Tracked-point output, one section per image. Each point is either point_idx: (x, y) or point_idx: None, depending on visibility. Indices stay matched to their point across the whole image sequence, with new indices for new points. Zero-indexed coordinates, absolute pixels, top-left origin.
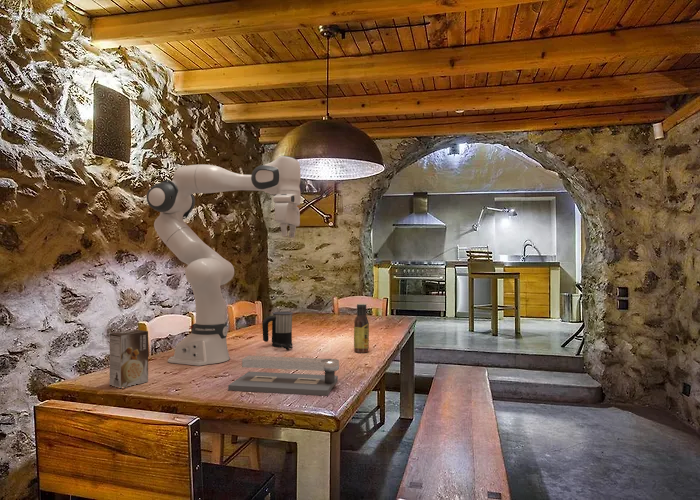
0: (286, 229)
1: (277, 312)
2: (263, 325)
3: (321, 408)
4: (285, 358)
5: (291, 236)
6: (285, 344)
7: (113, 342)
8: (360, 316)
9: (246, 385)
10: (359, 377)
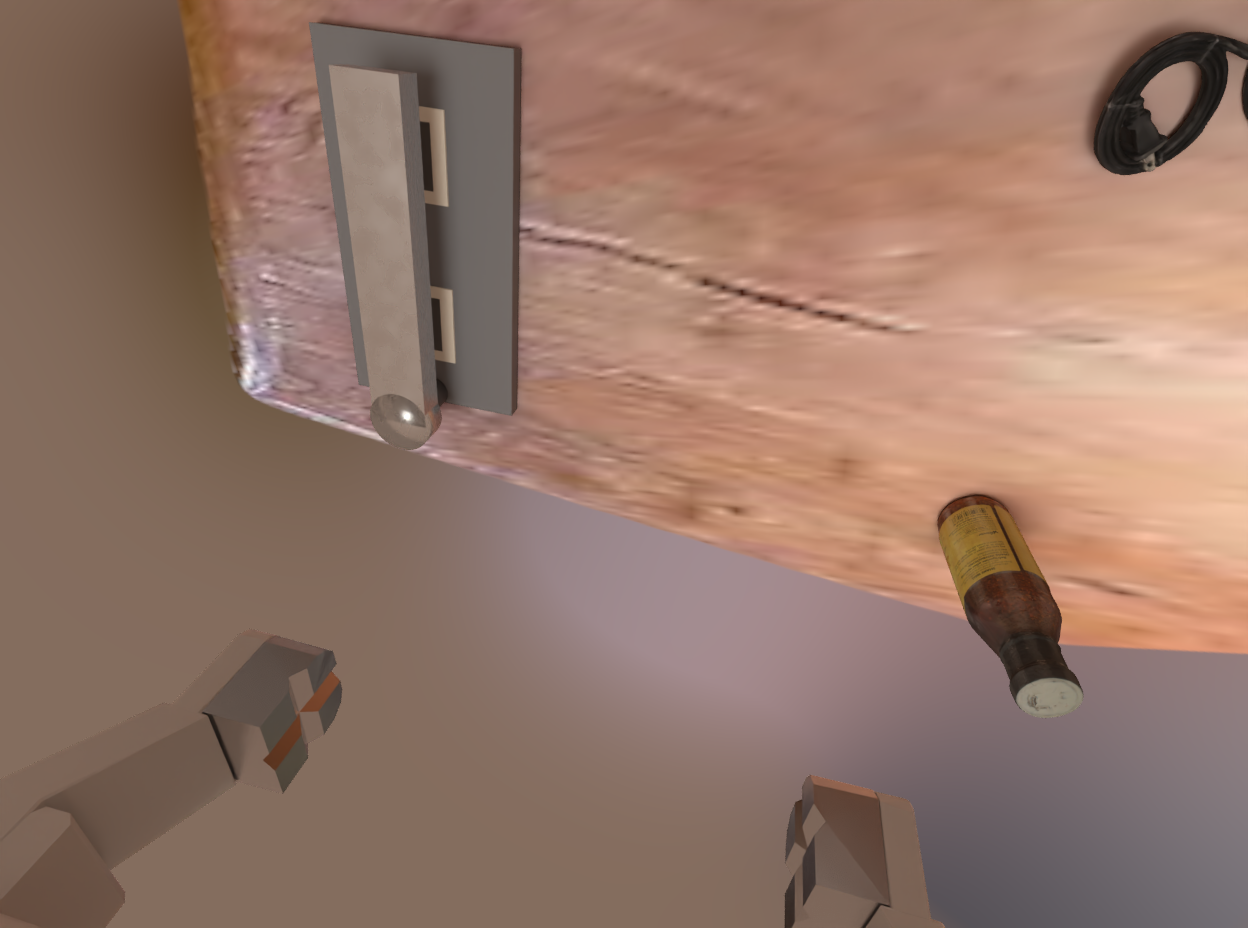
0: (164, 812)
1: None
2: None
3: (274, 364)
4: (390, 264)
5: (809, 822)
6: (1132, 129)
7: None
8: (996, 636)
9: (328, 105)
10: (559, 472)
